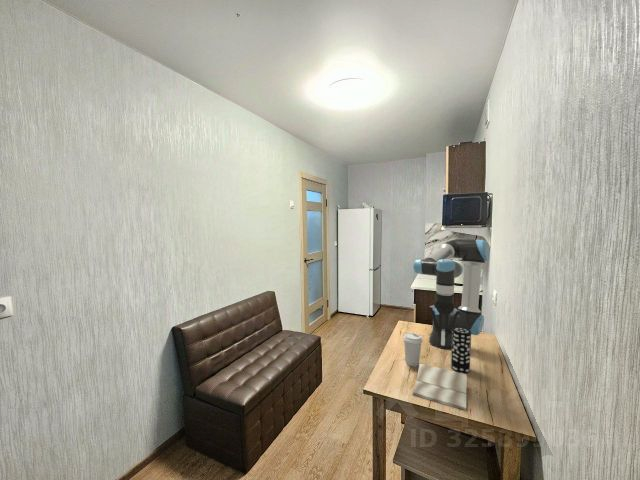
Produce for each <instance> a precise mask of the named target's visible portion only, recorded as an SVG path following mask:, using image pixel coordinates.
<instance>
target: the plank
mask: <svg viewBox="0 0 640 480" xmlns="http://www.w3.org/2000/svg"><path fill="white" fill-rule="evenodd" d="M467 379H468V376H467V373H459V372H456V371H454V370H449V369H445V368H441V367H437V366H432V365H427V364H424V363H419V365H418V371H417V377H416V381H420V382H424V383H428V384H432V385H435V386H439V387H443V388H446V389H450V390H454V391H458V392H461V393H465V394H466V395H467V384H468V383H467V382H468V381H467Z"/></svg>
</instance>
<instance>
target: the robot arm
mask: <svg viewBox="0 0 640 480" xmlns="http://www.w3.org/2000/svg"><path fill="white" fill-rule="evenodd" d="M489 250H490V249H489V246H488V242H487V241H486V240H483V239H465V238H464V239H462V238H460V239H459V238H456V239H451V240H448V241H445V242H443V243H441V244H440V245H439V246H438V247H437V249H436V250H435V251H433V252H432V253H431V254H429V255H428V256H427V257H425V258H424V259H421V258H419V259H415V260H414V262H413V271H414V273H415V274H418V275H419V274H420V275H426V276H434V277H436V278H435V280H436V283H435V292H436V293H435V302H434V304H433V305H430V306H429V307H428V309H429V312H431V313H430V314H431V317H432V330H431V332H430V335H429V337H428V338H429V340H428V342H429V344H431V345H432V346H433V347H436V348H437V349H438V348H439V349H443V350H452V330H453V328H456V327H459V328H465V329H468V330H470V331H471V336H472V335H473V336H479V335H480V334H481V332H482V330H483V327H484V322H485V316H484V315H482V311H481V310H480V308H479V300H480V291H481V289H480V288H481V274H482V266H484V265H485V264H486V263H485V262H487V261H488V260H489V258H490V257H489V256H490V253H489ZM452 259H461V262H462V264H463V265H464V269H463V266H462V264H461V263H459V262H457V261H455V260H452ZM462 274H463V277H462V278H463V280H462V281H463V282H462V290H461V291H462V293H461V305H460V306H458V307H457V308H456V307H455V304H454V302H455V300H454V299H455V297H454V296H455V295H454V294H455V279H456V278H459V277H460V276H461V275H462Z"/></svg>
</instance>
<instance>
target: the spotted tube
mask: <svg viewBox="0 0 640 480" xmlns="http://www.w3.org/2000/svg"><path fill="white" fill-rule="evenodd" d="M471 347H472V334H471V331H470V330H468V329H465V328H459V327H456V328H453V330H452V349H451V359H450V361H451V362H450V363H451V364H450V369H452V371H454V372H458V373H462V374H468V373H470V371H471V349H472V348H471Z"/></svg>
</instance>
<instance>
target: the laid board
mask: <svg viewBox="0 0 640 480" xmlns="http://www.w3.org/2000/svg"><path fill="white" fill-rule="evenodd" d="M412 396H415V397H419V398H422V399H425V400H429V401H432V402H436V403H438V404H443V405H445V406H450V407H453V408H456V409H459V410H463V411H465V412H467V393H466V394H465V393H461V392H458V391H454V390H450V389H446V388H443V387H439V386H435V385H432V384H428V383H424V382H420V381H417V380H415V384H414V387H413V391H412Z"/></svg>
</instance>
